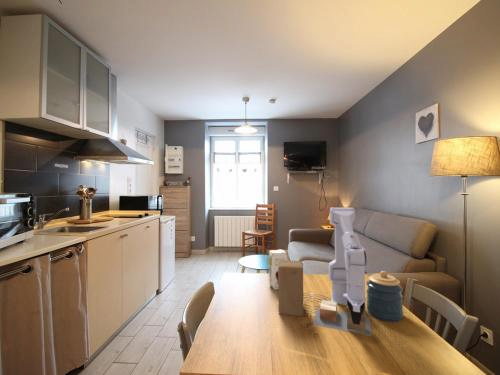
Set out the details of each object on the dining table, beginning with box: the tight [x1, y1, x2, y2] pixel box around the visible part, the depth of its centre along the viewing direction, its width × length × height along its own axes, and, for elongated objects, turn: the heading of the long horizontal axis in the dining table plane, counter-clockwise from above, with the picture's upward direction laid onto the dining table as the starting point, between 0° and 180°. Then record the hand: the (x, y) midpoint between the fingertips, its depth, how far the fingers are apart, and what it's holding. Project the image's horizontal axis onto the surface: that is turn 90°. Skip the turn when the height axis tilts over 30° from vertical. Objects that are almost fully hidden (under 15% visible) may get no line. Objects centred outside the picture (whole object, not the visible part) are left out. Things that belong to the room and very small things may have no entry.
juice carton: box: [268, 248, 288, 291], centre depth 126 cm, size 8×9×19 cm
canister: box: [365, 270, 404, 323], centre depth 97 cm, size 13×13×18 cm
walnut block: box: [346, 305, 366, 333], centre depth 87 cm, size 4×6×8 cm, turn 67°
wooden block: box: [277, 259, 304, 317], centre depth 101 cm, size 10×10×20 cm
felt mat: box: [312, 307, 373, 337], centre depth 92 cm, size 14×20×1 cm
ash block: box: [319, 299, 338, 322], centre depth 96 cm, size 4×6×8 cm
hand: (356, 323), depth 82 cm, fingers closed
